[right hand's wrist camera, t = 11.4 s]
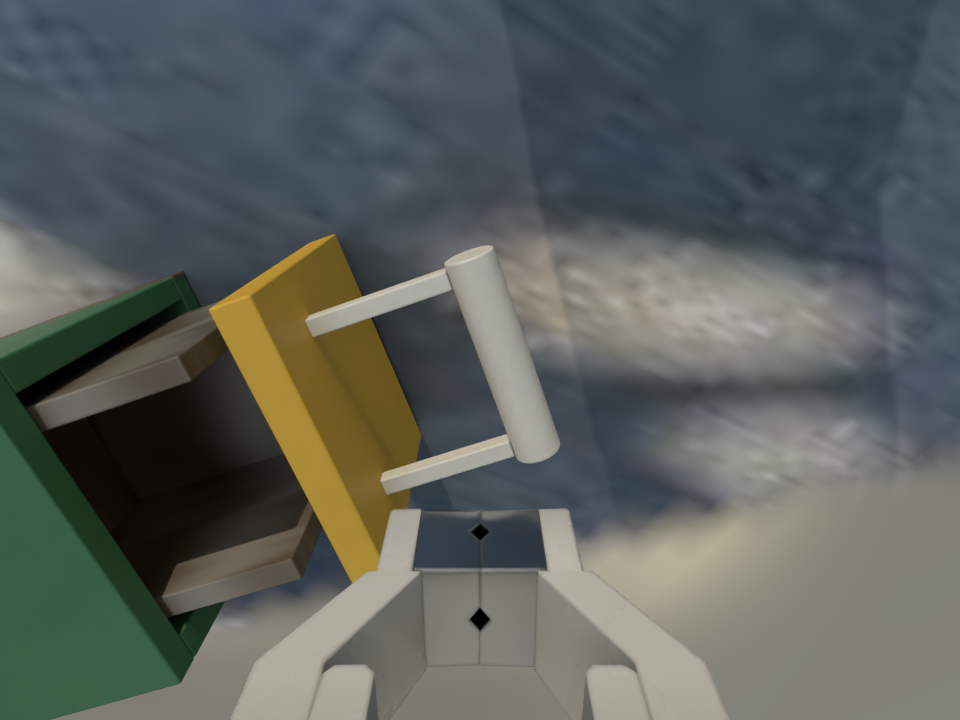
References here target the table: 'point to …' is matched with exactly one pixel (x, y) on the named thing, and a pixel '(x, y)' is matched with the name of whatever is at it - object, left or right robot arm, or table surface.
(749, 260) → the table surface
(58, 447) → the drawer
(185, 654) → the cabinet
